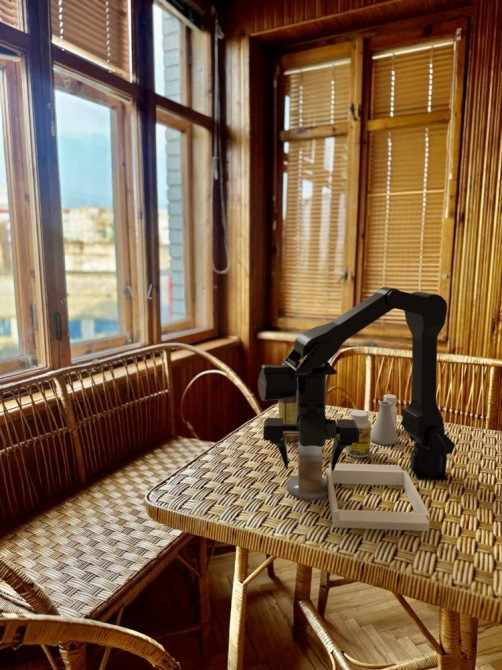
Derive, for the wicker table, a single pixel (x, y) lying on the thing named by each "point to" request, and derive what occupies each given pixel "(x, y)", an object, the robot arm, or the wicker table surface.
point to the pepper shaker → (393, 409)
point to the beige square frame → (376, 519)
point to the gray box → (310, 469)
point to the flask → (384, 426)
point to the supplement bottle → (361, 435)
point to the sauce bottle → (289, 415)
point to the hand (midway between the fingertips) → (309, 469)
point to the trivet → (294, 490)
